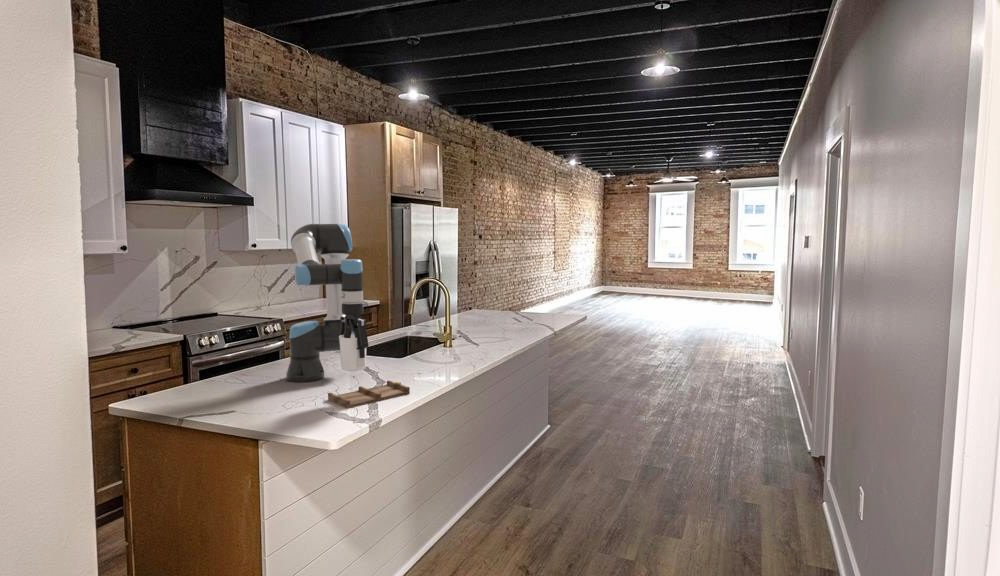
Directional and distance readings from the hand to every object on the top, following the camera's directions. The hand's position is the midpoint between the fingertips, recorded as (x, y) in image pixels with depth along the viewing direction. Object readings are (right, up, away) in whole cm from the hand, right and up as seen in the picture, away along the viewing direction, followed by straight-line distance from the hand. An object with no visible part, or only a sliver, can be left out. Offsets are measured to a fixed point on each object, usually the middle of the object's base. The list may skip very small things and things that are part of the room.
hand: (353, 364), depth 204 cm
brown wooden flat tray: (+4, -13, +6) cm, 15 cm away
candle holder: (0, -2, 0) cm, 2 cm away
